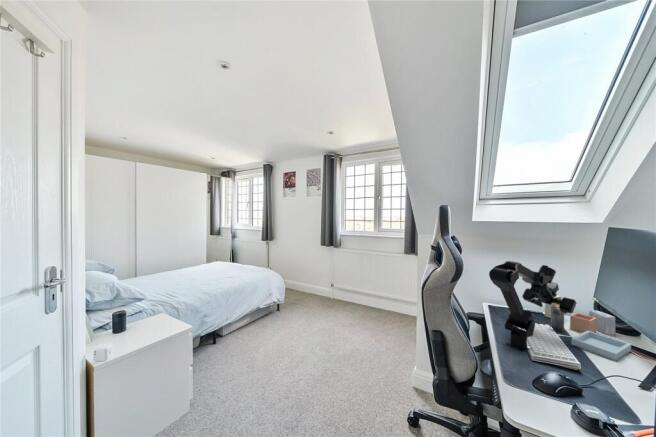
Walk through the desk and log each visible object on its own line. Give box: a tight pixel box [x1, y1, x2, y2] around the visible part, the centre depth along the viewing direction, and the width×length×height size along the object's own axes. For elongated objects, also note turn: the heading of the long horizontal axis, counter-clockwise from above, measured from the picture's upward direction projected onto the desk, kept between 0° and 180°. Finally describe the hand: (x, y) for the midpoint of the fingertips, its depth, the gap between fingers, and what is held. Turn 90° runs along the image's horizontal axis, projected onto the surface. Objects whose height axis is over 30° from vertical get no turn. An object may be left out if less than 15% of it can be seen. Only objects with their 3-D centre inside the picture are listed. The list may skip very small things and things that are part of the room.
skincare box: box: [544, 294, 563, 319], centre depth 134 cm, size 6×4×12 cm
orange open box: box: [569, 312, 597, 334], centre depth 118 cm, size 7×7×7 cm
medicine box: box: [588, 310, 616, 336], centre depth 118 cm, size 8×4×9 cm, turn 179°
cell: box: [550, 305, 565, 333], centre depth 120 cm, size 5×5×12 cm
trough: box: [570, 331, 632, 362], centre depth 103 cm, size 16×13×3 cm
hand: (553, 309), depth 118 cm, fingers open, 9 cm apart
